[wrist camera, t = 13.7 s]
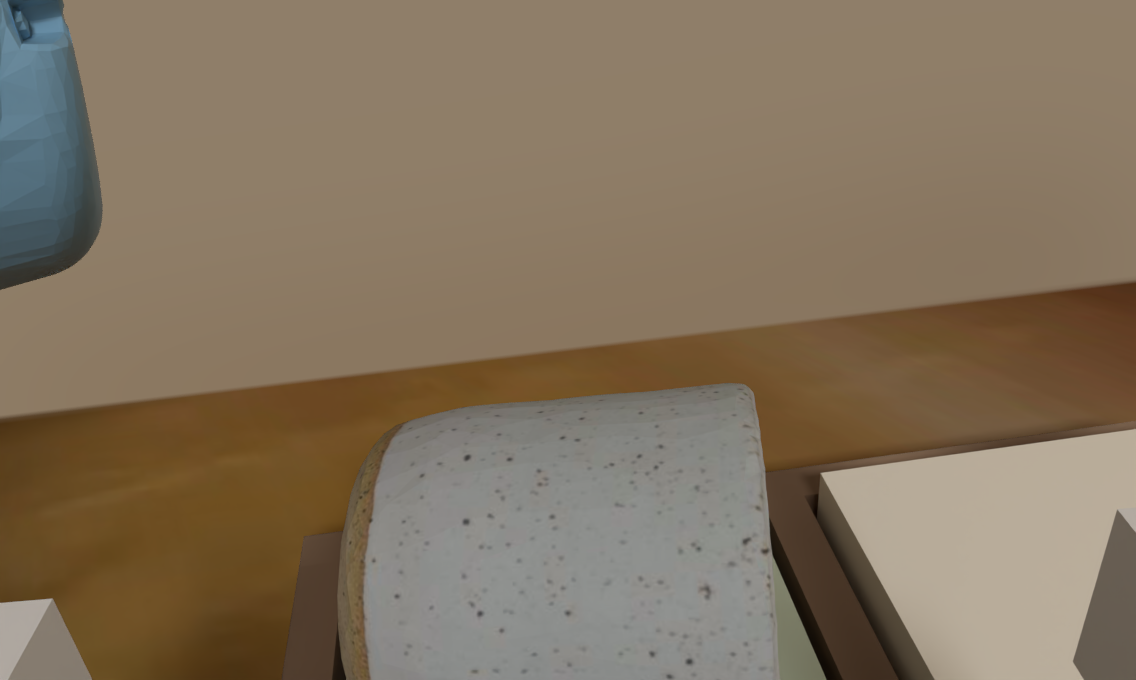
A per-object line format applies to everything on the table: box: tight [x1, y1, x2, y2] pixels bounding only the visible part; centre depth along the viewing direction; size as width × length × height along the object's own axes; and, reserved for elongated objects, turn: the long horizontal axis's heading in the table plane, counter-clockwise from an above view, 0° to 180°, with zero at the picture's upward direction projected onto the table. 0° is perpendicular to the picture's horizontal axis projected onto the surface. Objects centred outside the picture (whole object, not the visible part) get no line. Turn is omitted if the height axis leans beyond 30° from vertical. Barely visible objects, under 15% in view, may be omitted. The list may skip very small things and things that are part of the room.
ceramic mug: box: [337, 383, 780, 680], centre depth 19 cm, size 11×8×8 cm
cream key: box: [817, 429, 1136, 680], centre depth 23 cm, size 11×11×3 cm
